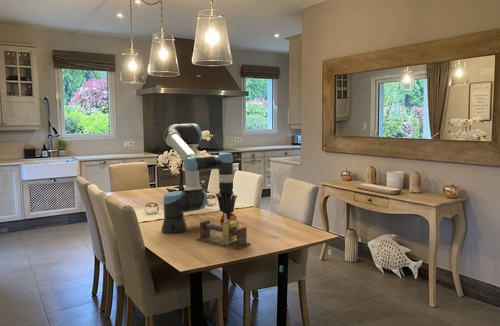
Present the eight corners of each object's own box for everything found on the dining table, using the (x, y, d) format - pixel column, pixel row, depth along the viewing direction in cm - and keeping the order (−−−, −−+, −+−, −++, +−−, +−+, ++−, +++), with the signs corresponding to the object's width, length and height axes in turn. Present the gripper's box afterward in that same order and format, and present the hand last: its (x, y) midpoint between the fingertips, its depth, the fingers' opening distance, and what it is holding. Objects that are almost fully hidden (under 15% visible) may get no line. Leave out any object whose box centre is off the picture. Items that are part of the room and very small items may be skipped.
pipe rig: (196, 240, 226) (196, 222, 225) (208, 235, 234) (208, 218, 233) (239, 250, 208) (238, 231, 207) (250, 244, 216) (250, 226, 215)
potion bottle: (222, 234, 236) (221, 209, 235) (218, 229, 246) (218, 205, 245) (239, 232, 239) (239, 207, 237) (235, 228, 249) (235, 204, 247)
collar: (222, 240, 215) (222, 224, 214) (233, 236, 222) (233, 220, 221) (228, 241, 212) (228, 225, 211) (239, 237, 220) (238, 221, 219)
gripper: (212, 181, 216) (213, 224, 219) (231, 183, 208) (232, 228, 211) (221, 179, 222) (222, 221, 225) (240, 181, 214) (240, 225, 217)
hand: (226, 224), depth 218 cm, fingers closed
